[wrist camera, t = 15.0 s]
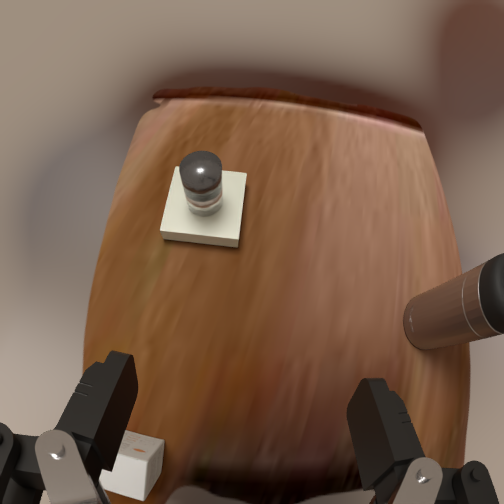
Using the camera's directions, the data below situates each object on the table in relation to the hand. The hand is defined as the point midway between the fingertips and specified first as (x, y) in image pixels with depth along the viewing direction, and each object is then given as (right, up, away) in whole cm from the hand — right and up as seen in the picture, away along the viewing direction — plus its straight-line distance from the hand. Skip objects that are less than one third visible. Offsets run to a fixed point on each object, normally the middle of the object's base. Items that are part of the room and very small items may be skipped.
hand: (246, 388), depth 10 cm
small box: (-16, -22, +23) cm, 36 cm away
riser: (-7, +11, +36) cm, 39 cm away
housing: (-7, +12, +33) cm, 36 cm away
